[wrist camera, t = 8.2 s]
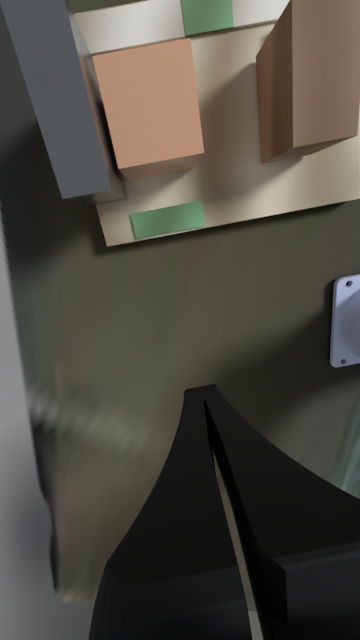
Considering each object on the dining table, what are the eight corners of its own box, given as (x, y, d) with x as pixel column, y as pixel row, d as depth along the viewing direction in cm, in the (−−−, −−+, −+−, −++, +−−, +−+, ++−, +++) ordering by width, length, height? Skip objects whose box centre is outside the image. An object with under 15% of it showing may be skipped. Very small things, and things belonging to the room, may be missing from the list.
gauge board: (367, -26, 14) (386, -48, 13) (351, 199, 18) (364, 197, 17) (52, 32, 14) (42, 15, 13) (109, 245, 18) (106, 247, 17)
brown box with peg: (311, 15, 13) (371, -64, 10) (310, 154, 16) (357, 135, 12) (254, 25, 13) (291, -49, 10) (261, 164, 16) (293, 147, 12)
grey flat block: (103, 84, 15) (59, -21, 8) (129, 200, 17) (111, 190, 10) (68, 91, 15) (-4, -9, 8) (99, 206, 17) (62, 199, 10)
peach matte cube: (181, 84, 14) (190, 37, 10) (193, 168, 16) (204, 152, 12) (109, 98, 14) (92, 56, 10) (127, 180, 16) (118, 168, 12)
